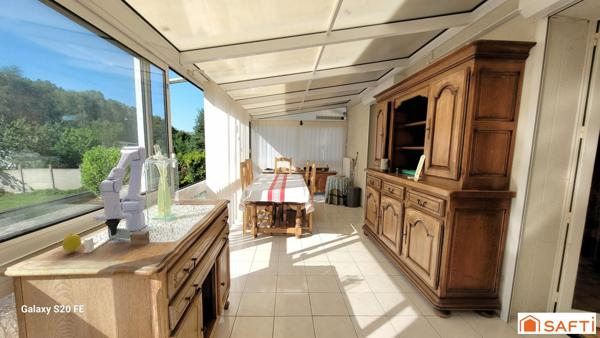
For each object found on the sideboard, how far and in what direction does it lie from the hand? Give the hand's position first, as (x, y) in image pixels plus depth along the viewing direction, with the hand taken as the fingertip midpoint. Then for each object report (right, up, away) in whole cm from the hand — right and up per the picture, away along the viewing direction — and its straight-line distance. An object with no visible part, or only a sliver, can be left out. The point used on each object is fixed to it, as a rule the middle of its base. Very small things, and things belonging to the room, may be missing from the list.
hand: (114, 234), depth 107 cm
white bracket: (-4, -3, -2) cm, 6 cm away
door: (+1, -2, +3) cm, 3 cm away
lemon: (-8, -4, -11) cm, 15 cm away
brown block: (+13, -3, -2) cm, 14 cm away
